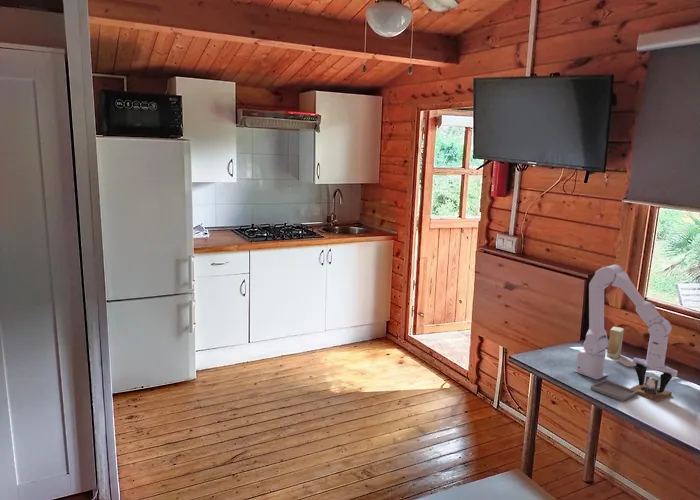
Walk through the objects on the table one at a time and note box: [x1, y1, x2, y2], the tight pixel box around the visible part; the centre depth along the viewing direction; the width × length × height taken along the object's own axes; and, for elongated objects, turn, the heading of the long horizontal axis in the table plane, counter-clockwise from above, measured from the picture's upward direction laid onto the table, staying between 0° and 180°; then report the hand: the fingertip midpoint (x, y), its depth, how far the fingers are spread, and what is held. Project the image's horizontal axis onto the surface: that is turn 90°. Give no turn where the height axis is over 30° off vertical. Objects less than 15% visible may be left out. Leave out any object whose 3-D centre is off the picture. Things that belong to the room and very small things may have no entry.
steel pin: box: [643, 375, 660, 395], centre depth 192 cm, size 4×4×6 cm
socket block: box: [630, 382, 673, 403], centre depth 192 cm, size 10×10×1 cm
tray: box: [590, 379, 638, 403], centre depth 192 cm, size 12×10×2 cm
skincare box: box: [606, 326, 625, 359], centre depth 228 cm, size 6×4×12 cm
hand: (651, 388), depth 192 cm, fingers open, 6 cm apart
